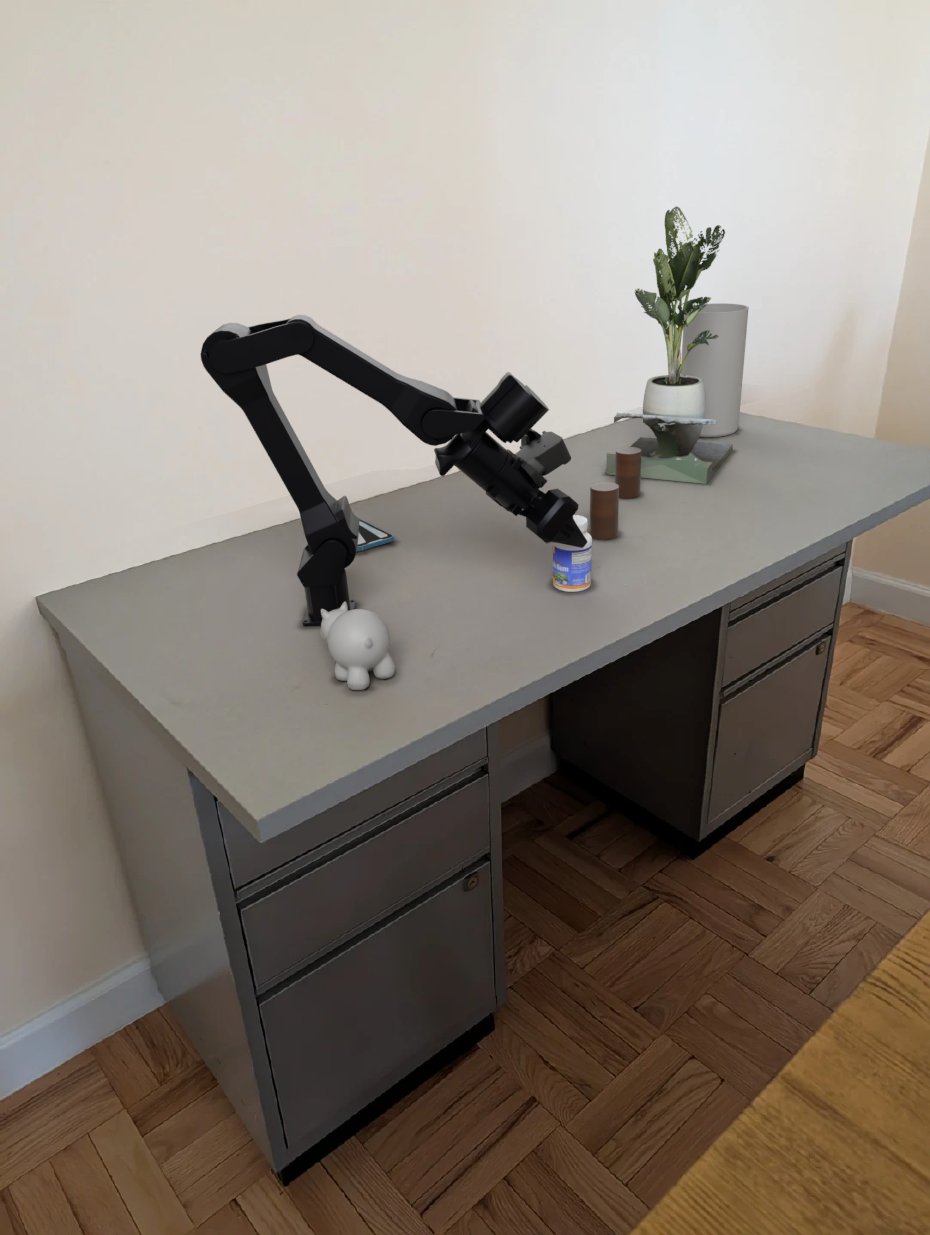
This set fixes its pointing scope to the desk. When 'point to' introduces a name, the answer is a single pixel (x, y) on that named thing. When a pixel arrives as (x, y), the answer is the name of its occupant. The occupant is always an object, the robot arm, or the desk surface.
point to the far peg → (628, 471)
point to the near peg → (604, 510)
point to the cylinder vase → (718, 363)
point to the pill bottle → (573, 562)
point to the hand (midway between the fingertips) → (569, 533)
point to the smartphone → (371, 536)
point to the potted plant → (677, 369)
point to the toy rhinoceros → (357, 645)
